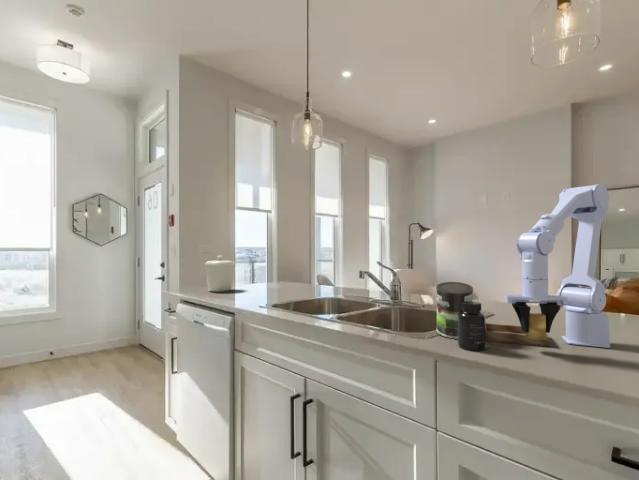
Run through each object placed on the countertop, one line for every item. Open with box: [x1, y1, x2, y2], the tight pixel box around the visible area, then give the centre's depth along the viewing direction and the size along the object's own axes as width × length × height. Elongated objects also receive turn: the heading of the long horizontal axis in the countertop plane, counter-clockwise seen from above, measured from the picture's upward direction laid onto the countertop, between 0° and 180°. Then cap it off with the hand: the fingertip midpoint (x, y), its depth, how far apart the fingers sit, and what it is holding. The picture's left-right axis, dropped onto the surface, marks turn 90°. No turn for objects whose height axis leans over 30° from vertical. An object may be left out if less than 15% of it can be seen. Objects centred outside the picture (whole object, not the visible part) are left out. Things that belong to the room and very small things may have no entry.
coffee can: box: [435, 281, 474, 340], centre depth 105 cm, size 10×10×14 cm
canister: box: [203, 254, 236, 293], centre depth 208 cm, size 18×18×21 cm
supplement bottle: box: [457, 301, 487, 352], centre depth 93 cm, size 7×7×12 cm
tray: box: [486, 322, 551, 348], centre depth 102 cm, size 16×12×3 cm
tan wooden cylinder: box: [525, 312, 547, 340], centre depth 90 cm, size 4×4×6 cm
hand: (535, 331), depth 90 cm, fingers closed on tan wooden cylinder, 4 cm apart
